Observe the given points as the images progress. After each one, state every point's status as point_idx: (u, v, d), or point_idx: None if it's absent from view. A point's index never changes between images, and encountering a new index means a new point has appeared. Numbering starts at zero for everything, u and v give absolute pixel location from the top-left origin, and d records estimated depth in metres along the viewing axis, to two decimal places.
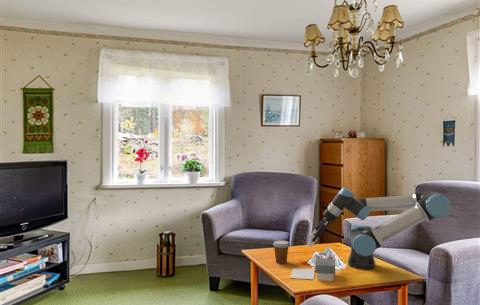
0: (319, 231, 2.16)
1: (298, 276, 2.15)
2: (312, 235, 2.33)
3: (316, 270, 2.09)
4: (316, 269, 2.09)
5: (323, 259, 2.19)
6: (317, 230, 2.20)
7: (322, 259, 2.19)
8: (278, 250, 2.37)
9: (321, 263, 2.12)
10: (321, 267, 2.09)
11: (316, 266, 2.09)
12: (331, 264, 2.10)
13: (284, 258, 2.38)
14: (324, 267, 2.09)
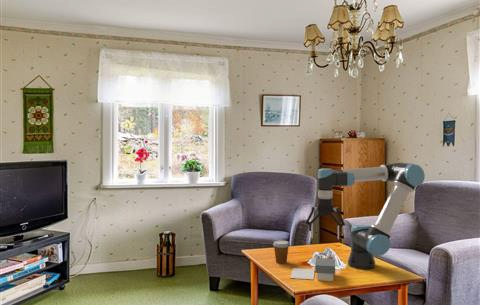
0: (342, 219, 2.12)
1: (298, 276, 2.15)
2: (312, 232, 2.16)
3: (316, 270, 2.09)
4: (316, 269, 2.09)
5: (323, 259, 2.19)
6: (336, 221, 2.12)
7: (322, 259, 2.19)
8: (278, 250, 2.37)
9: (321, 263, 2.12)
10: (321, 267, 2.09)
11: (316, 266, 2.09)
12: (331, 264, 2.10)
13: (284, 258, 2.38)
14: (324, 267, 2.09)
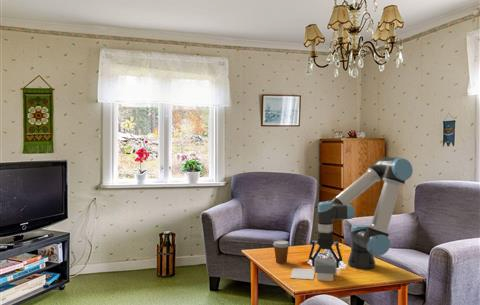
0: (340, 255, 2.12)
1: (298, 276, 2.15)
2: None
3: (316, 270, 2.09)
4: (316, 269, 2.09)
5: (323, 259, 2.19)
6: (334, 256, 2.12)
7: (322, 259, 2.19)
8: (278, 250, 2.37)
9: (321, 263, 2.12)
10: (321, 267, 2.09)
11: (316, 266, 2.09)
12: (331, 264, 2.10)
13: (284, 258, 2.38)
14: (324, 267, 2.09)
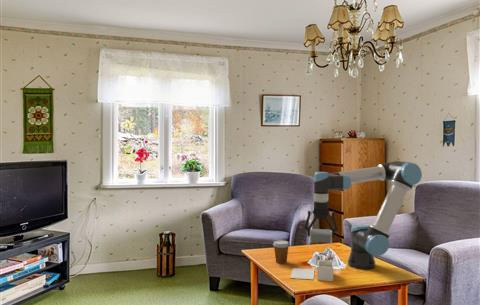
0: (336, 224, 2.13)
1: (298, 276, 2.15)
2: None
3: (312, 239, 2.09)
4: (312, 238, 2.09)
5: (319, 229, 2.19)
6: (330, 225, 2.13)
7: (318, 229, 2.19)
8: (278, 250, 2.37)
9: (317, 233, 2.12)
10: (317, 236, 2.09)
11: (312, 235, 2.09)
12: (327, 233, 2.10)
13: (284, 258, 2.38)
14: (319, 236, 2.09)
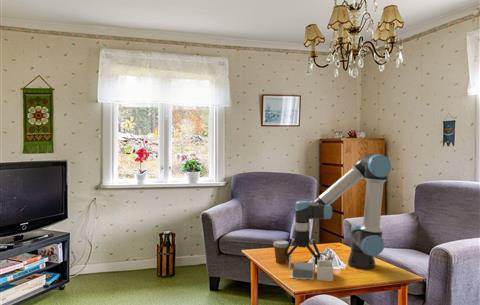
0: (318, 251, 2.17)
1: None
2: (290, 263, 2.21)
3: (293, 274, 2.14)
4: (293, 273, 2.14)
5: (301, 263, 2.24)
6: (312, 253, 2.17)
7: (300, 263, 2.24)
8: (278, 250, 2.37)
9: (299, 268, 2.16)
10: (298, 271, 2.13)
11: (293, 270, 2.14)
12: (308, 268, 2.15)
13: (284, 258, 2.38)
14: (301, 271, 2.13)
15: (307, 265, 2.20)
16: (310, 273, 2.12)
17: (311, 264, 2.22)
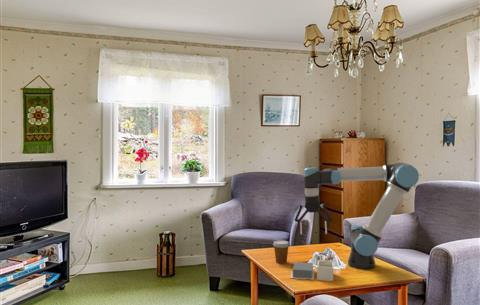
0: (329, 215, 2.22)
1: None
2: (301, 229, 2.25)
3: (293, 274, 2.14)
4: (293, 273, 2.14)
5: (301, 263, 2.24)
6: (323, 217, 2.22)
7: (300, 263, 2.24)
8: (278, 250, 2.37)
9: (299, 268, 2.16)
10: (298, 271, 2.13)
11: (293, 270, 2.14)
12: (308, 268, 2.15)
13: (284, 258, 2.38)
14: (301, 271, 2.13)
15: (307, 265, 2.20)
16: (310, 273, 2.12)
17: (311, 264, 2.22)
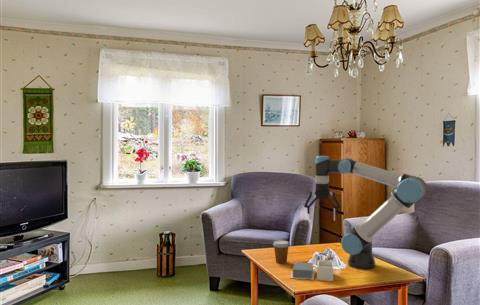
0: (338, 202, 2.29)
1: None
2: (310, 214, 2.33)
3: (293, 274, 2.14)
4: (293, 273, 2.14)
5: (301, 263, 2.24)
6: (332, 204, 2.29)
7: (300, 263, 2.24)
8: (278, 250, 2.37)
9: (299, 268, 2.16)
10: (298, 271, 2.13)
11: (293, 270, 2.14)
12: (308, 268, 2.15)
13: (284, 258, 2.38)
14: (301, 271, 2.13)
15: (307, 265, 2.20)
16: (310, 273, 2.12)
17: (311, 264, 2.22)
